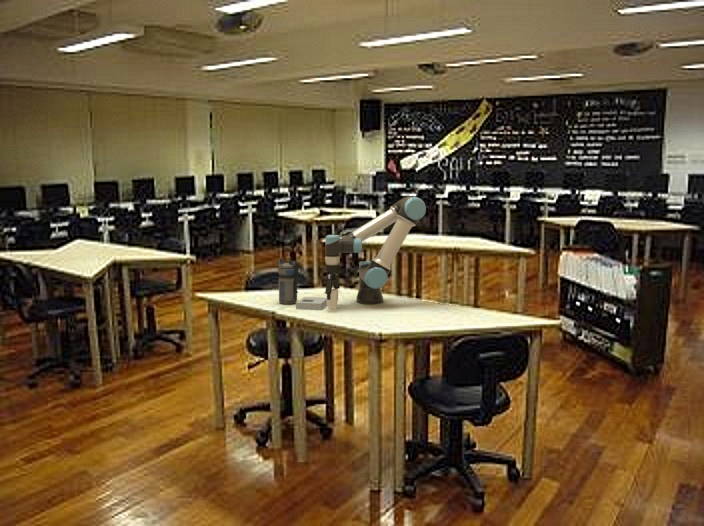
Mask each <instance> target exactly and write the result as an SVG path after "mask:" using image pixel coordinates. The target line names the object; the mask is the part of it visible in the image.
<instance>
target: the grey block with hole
mask: <svg viewBox="0 0 704 526" xmlns="http://www.w3.org/2000/svg"><path fill="white" fill-rule="evenodd" d="M325 306H326V307H328V306H327V297H320V296H319V297H315V296H303V297H302V298H300V299H299V300H297V302H296V303H295V310H307V309H309V311H321V310H323V309H324V308H326V307H325Z"/></svg>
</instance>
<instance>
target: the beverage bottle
mask: <svg viewBox="0 0 704 526" xmlns="http://www.w3.org/2000/svg"><path fill="white" fill-rule="evenodd" d="M299 268H300V263H299V262H298V261H297V260H287V261H283V258H282V257H281V258H279V259H278V269H277V270H278V271H277V272H278V275H279V276H278V301H279V303H280V304H282V305H293V303H294V304H296V302H297V301H298V294H299V292H298V278H299V277H298V276H299V271H300V269H299Z"/></svg>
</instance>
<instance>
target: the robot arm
mask: <svg viewBox="0 0 704 526" xmlns="http://www.w3.org/2000/svg"><path fill="white" fill-rule="evenodd" d="M426 209H427V207H426V204H425V202H424V200H423V199H421V198H420V197H417V196H404V197H403V198H401V199H399V201H397V202H395V203H393V204H392V205H391V206H390V208H389V209H387V211H384V212H383V213H381V214H379V215H378V216H376V217H374V218H373V219H372V220H369V221H368V222H367V223H365V224H364V225H361V226H360V227H358V228H357V229H355V230H354V231H351V232H350V233H349V234H346V235H343V236H342V237H340V235H338V234H327V235H326V236H325V244H324V246H325V247H324V248H325V249H324V251H325V257H324V260H325V266H324V267H325V269H324V270H325V272H327V273H328V274H326V284H325V292H324V295H325V294H326V298H327V306H326V307H328V306H332V293H331V292H332V289H337V302H338V301H339V289H341V287H340V281H339V272H340V267H341V266H340V263H341V262H340V257H341V256H340V254H344V253H345V254H346V253H347V254H348V253H349V254H353V253H354V254H356V253H357V254H359V253H361V252H362V250H363V242H364V241H366V240H369V238H371V237H373V236H374V235H376V234H377V233H380V232H381V231H382V230H384V229H386V228H387V227H389V226H391V225H392V224H394V225H393V226H392V229H391V231H390V232H389V234H388V235H387V237H386V239H385V241H384V243H383V245H382V246H381V248H380V250H379V252H378V254H377V256H376V257H375V258H372V259H371V260H369V261H365V260H364V261H360V262H359V263H358V264H359V266H358V268H359V269H358V270H359V271H358V272H359V273H358V274H359V284H358V287H359V289H358V291H357V295H356V298H355V299H356V300H355V301H356V303H359V304H362V305H364V304H365V305H375V304H376V305H377V304H381V303H383V302H384V296H383V293H382V290H381V288H383V287H384V286H386V284H387V282H388V275H390V274H389V273H390V272H391V270H392V269H391V265H392V263H393V261H394V259H395V258H396V255H397V254H398V252H399V250H400V248H401V247H402V245H403V243H404V241H405V239H406V238H407V236H408V234H409V232H410V230H411V229H412V228H413V227H416V226H417V224H418V223H419V221H420V220H421V219H422V218H423V217H424V216H425V215H426V212H427V210H426Z"/></svg>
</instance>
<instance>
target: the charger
mask: <svg viewBox="0 0 704 526" xmlns="http://www.w3.org/2000/svg"><path fill="white" fill-rule="evenodd" d="M331 293H332V306H327V307H328V310H337V308H338V301H337V289H335V288H332V292H331Z"/></svg>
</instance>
